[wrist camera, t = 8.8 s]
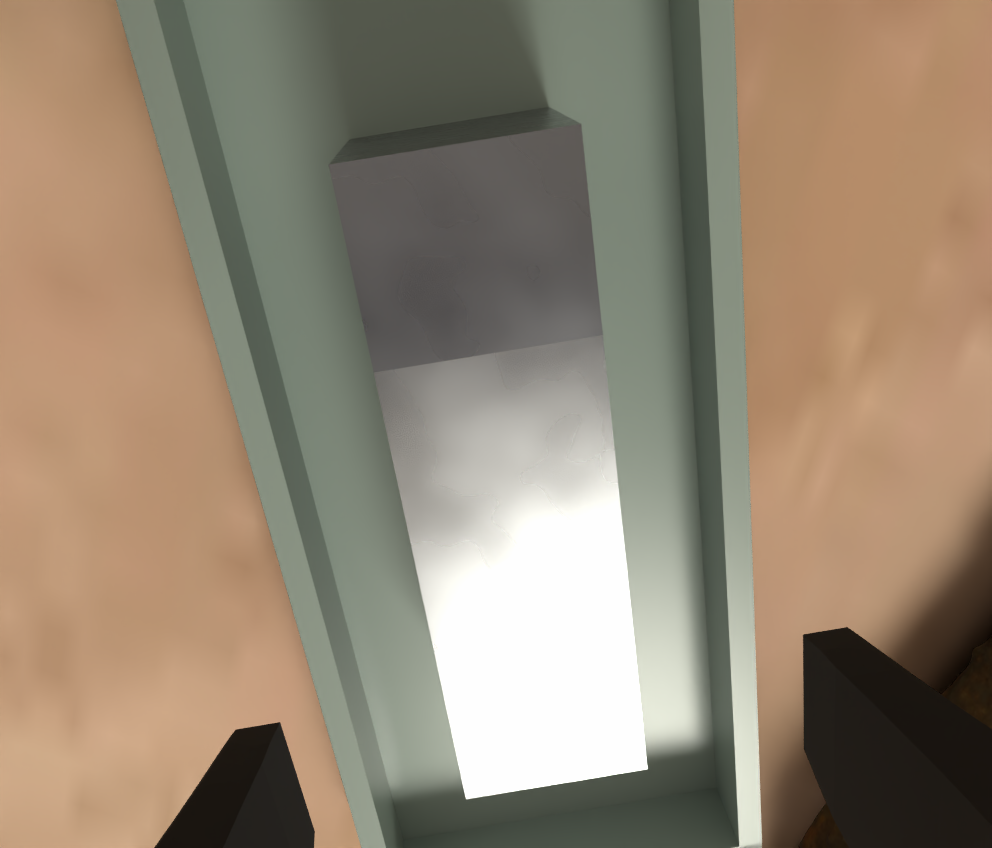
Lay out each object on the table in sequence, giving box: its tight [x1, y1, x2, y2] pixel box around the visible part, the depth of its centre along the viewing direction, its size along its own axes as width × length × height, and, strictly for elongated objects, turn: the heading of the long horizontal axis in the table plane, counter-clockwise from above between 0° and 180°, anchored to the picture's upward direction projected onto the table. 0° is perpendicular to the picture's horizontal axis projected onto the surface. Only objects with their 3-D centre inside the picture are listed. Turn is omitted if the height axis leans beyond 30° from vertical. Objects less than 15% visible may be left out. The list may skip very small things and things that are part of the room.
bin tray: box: [116, 0, 762, 848], centre depth 20 cm, size 10×24×2 cm, turn 8°
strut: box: [329, 107, 647, 799], centre depth 18 cm, size 4×14×4 cm, turn 8°
